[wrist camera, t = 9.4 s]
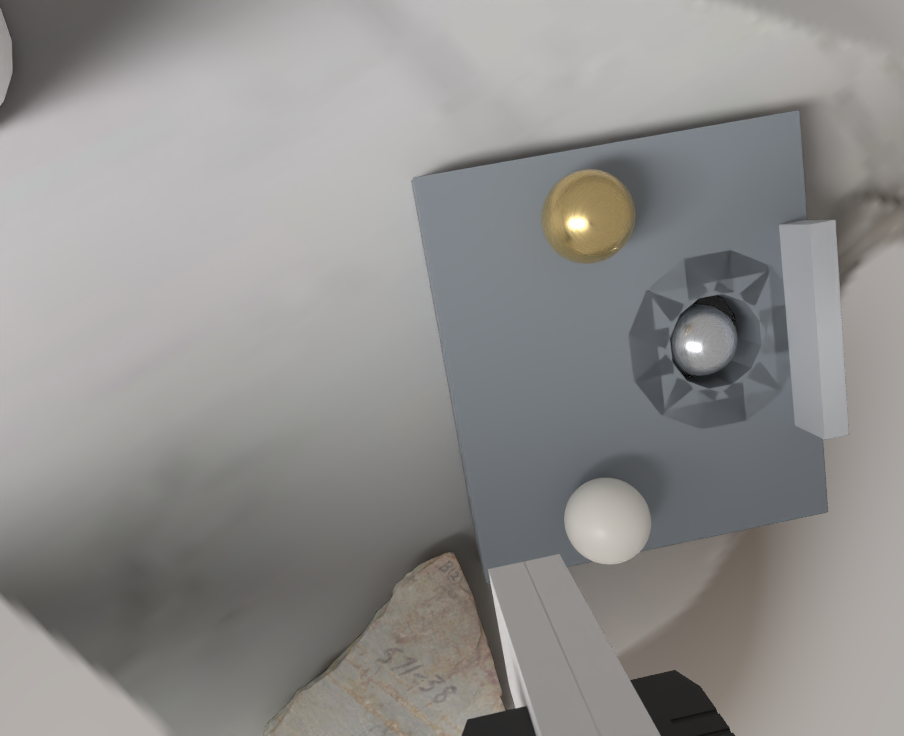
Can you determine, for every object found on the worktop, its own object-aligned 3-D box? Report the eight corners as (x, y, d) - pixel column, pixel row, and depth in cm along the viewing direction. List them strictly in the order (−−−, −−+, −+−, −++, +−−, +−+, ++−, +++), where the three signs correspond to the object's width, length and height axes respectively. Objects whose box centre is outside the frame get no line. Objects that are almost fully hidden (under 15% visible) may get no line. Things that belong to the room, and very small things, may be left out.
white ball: (561, 549, 36) (583, 588, 32) (549, 474, 35) (571, 505, 32) (638, 533, 37) (669, 569, 33) (628, 459, 36) (659, 487, 32)
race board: (480, 561, 39) (494, 609, 34) (411, 181, 35) (416, 173, 30) (800, 494, 40) (859, 532, 35) (770, 118, 36) (832, 100, 31)
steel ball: (654, 375, 37) (690, 388, 34) (646, 309, 37) (682, 315, 33) (714, 362, 38) (756, 373, 35) (707, 296, 37) (749, 301, 34)
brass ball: (539, 269, 34) (560, 274, 30) (526, 180, 33) (546, 174, 29) (623, 253, 34) (654, 256, 30) (612, 165, 33) (643, 157, 29)
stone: (437, 525, 39) (441, 545, 36) (567, 647, 41) (579, 675, 38) (243, 710, 40) (233, 742, 37) (380, 821, 42) (380, 859, 39)
